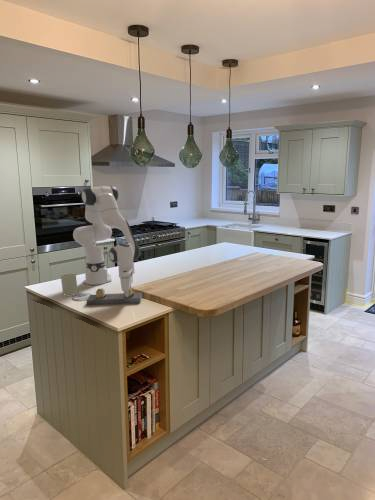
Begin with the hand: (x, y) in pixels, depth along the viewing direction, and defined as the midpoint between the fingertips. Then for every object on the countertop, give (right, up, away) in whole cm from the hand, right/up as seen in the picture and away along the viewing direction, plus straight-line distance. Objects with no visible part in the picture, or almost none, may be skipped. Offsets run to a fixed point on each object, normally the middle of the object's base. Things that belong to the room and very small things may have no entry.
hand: (128, 293), depth 221 cm
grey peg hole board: (-8, -4, +1) cm, 9 cm away
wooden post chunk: (0, -4, +1) cm, 4 cm away
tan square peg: (-16, -5, +1) cm, 17 cm away
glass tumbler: (-39, -2, +19) cm, 44 cm away
